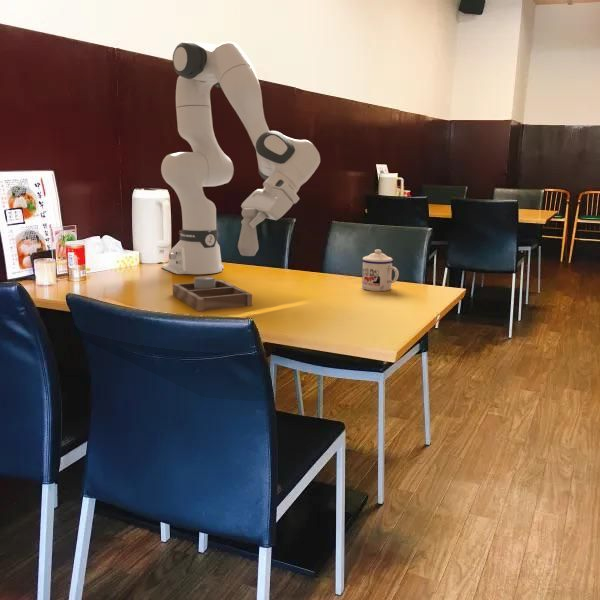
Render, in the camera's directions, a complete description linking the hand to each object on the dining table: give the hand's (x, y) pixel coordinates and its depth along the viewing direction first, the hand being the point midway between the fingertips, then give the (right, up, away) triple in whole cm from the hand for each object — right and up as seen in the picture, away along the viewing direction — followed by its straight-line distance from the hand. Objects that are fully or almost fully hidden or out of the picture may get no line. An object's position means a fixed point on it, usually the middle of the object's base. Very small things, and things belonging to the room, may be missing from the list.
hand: (246, 225), depth 173 cm
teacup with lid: (+39, -18, +12) cm, 44 cm away
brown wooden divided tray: (-9, -22, -10) cm, 25 cm away
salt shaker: (0, -8, +2) cm, 8 cm away
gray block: (-11, -20, -6) cm, 23 cm away
